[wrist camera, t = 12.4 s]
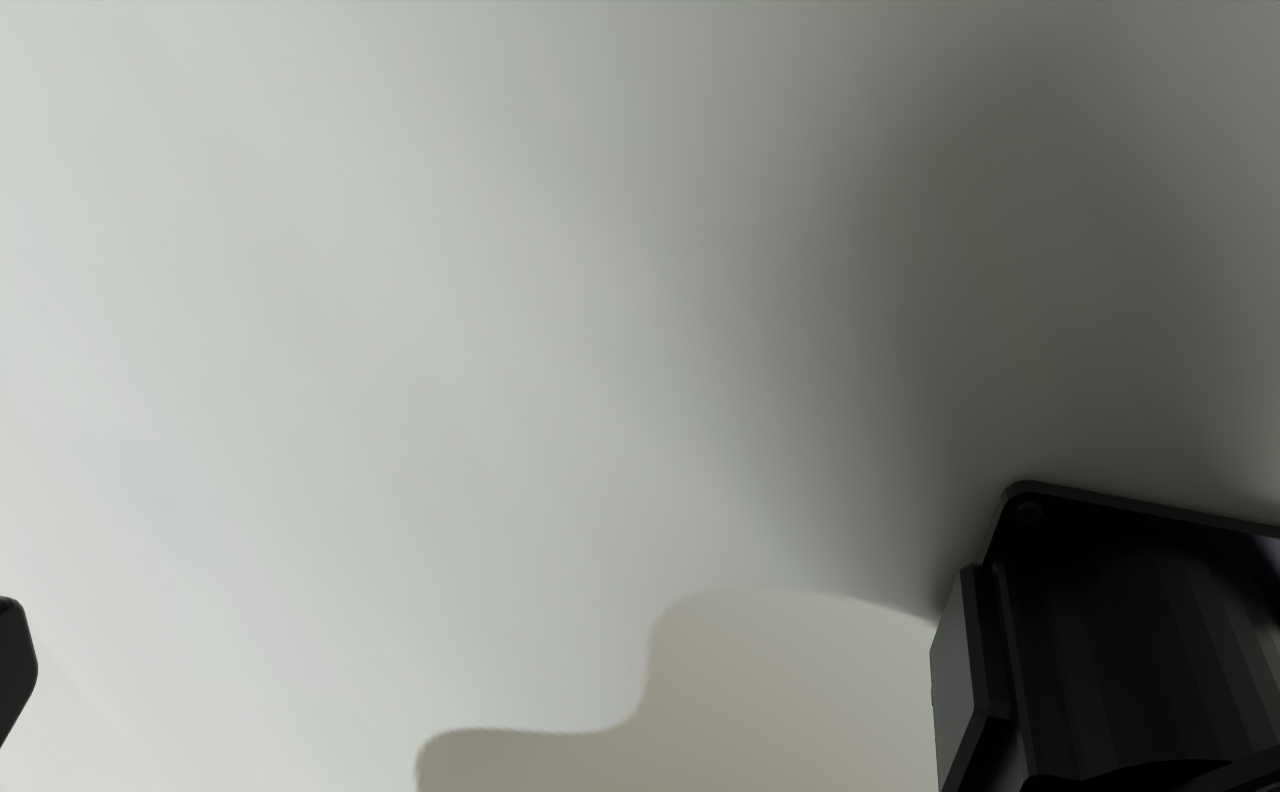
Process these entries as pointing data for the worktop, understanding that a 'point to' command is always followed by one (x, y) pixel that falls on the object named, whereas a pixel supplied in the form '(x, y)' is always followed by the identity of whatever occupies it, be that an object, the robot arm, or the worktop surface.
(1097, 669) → the robot arm
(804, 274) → the worktop surface
